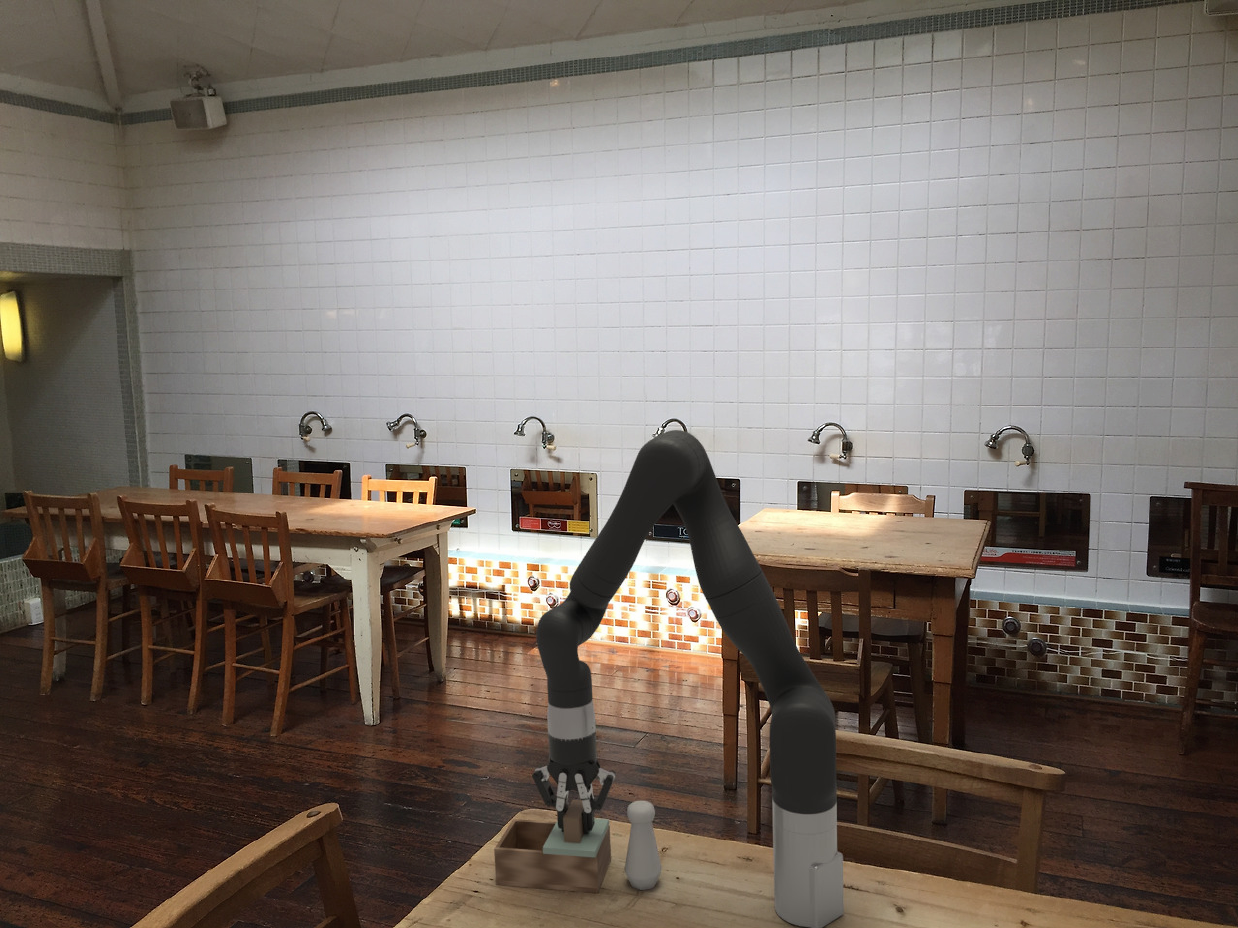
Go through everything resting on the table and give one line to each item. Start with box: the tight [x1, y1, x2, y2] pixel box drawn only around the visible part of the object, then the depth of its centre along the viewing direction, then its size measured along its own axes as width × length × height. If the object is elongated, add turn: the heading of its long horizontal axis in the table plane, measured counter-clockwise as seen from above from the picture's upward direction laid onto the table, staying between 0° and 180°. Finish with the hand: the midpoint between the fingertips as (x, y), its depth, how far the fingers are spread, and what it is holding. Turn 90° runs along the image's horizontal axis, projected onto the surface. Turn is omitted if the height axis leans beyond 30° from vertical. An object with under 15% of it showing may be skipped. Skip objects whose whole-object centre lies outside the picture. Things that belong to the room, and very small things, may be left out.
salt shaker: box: [624, 800, 663, 891], centre depth 147 cm, size 6×6×13 cm
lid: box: [543, 799, 610, 857], centre depth 150 cm, size 8×10×5 cm
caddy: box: [493, 818, 612, 894], centre depth 151 cm, size 17×10×6 cm, turn 78°
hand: (576, 830), depth 150 cm, fingers open, 3 cm apart
